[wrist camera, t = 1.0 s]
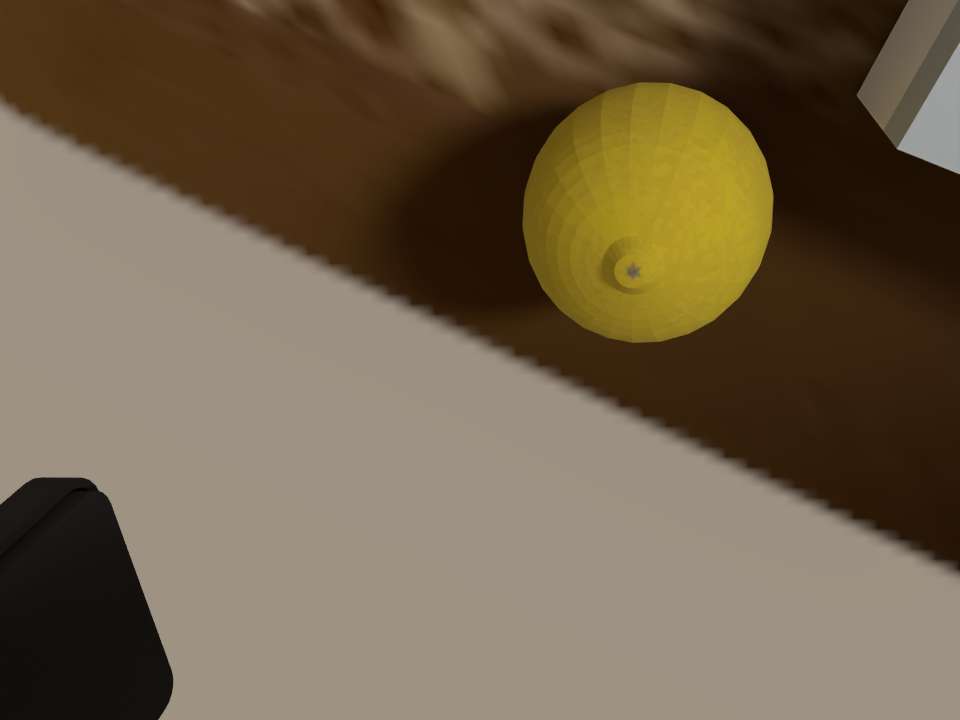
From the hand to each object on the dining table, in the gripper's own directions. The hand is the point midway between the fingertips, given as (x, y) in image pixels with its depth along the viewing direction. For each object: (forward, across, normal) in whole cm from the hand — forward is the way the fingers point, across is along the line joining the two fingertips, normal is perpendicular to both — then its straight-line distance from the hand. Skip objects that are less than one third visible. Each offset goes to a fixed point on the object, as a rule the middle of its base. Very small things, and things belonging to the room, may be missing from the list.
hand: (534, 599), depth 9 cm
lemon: (+18, 0, 0) cm, 18 cm away
